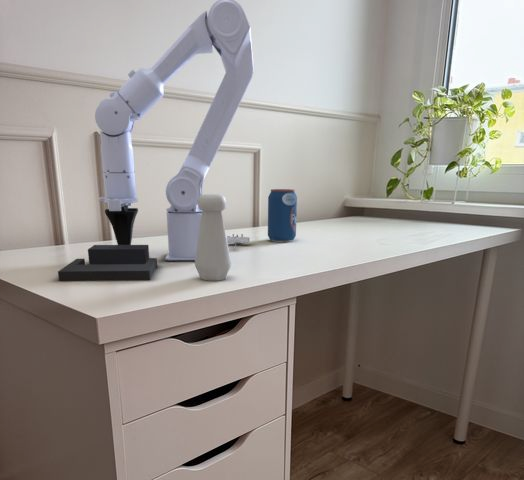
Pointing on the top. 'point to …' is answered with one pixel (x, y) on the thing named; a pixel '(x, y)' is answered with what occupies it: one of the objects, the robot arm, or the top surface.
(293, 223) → the soda can
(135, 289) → the top surface
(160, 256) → the top surface
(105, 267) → the black pad
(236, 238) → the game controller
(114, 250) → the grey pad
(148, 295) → the top surface
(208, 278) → the salt shaker
